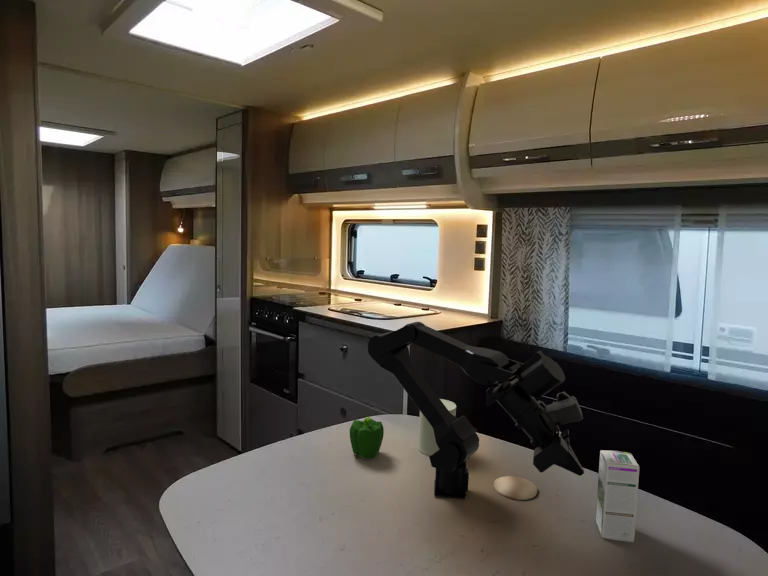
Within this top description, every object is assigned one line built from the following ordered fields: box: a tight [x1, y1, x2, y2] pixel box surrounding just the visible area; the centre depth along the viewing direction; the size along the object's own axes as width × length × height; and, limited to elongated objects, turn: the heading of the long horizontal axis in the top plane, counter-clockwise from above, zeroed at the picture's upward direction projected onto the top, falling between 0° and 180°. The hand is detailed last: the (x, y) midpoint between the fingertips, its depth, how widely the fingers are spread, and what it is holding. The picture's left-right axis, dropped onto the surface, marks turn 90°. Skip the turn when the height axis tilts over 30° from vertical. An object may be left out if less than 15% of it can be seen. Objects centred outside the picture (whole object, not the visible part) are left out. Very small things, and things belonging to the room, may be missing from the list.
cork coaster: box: [493, 475, 538, 501], centre depth 108 cm, size 9×9×1 cm
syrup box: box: [595, 449, 640, 543], centre depth 92 cm, size 6×6×14 cm
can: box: [417, 398, 457, 457], centre depth 126 cm, size 9×9×12 cm
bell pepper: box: [349, 416, 385, 460], centre depth 122 cm, size 8×8×10 cm
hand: (582, 473), depth 94 cm, fingers closed
